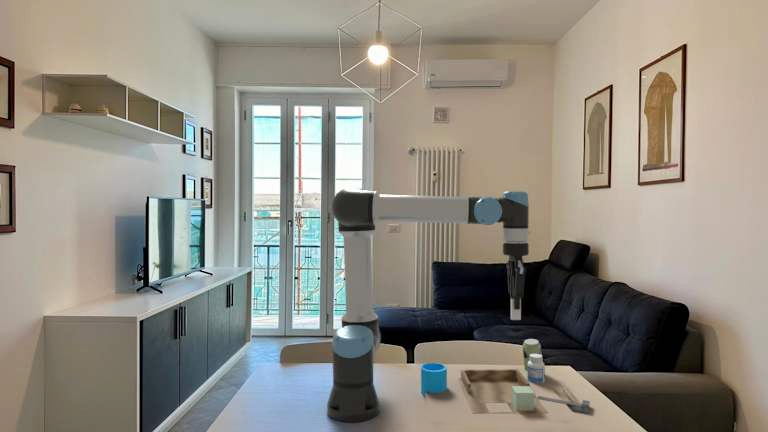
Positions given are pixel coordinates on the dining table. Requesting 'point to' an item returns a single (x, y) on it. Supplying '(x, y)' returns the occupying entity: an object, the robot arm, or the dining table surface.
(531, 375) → the pill bottle
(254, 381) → the dining table surface
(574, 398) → the dowel
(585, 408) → the crook tool
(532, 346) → the beverage can
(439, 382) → the mug
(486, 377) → the cubby deck
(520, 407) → the block
